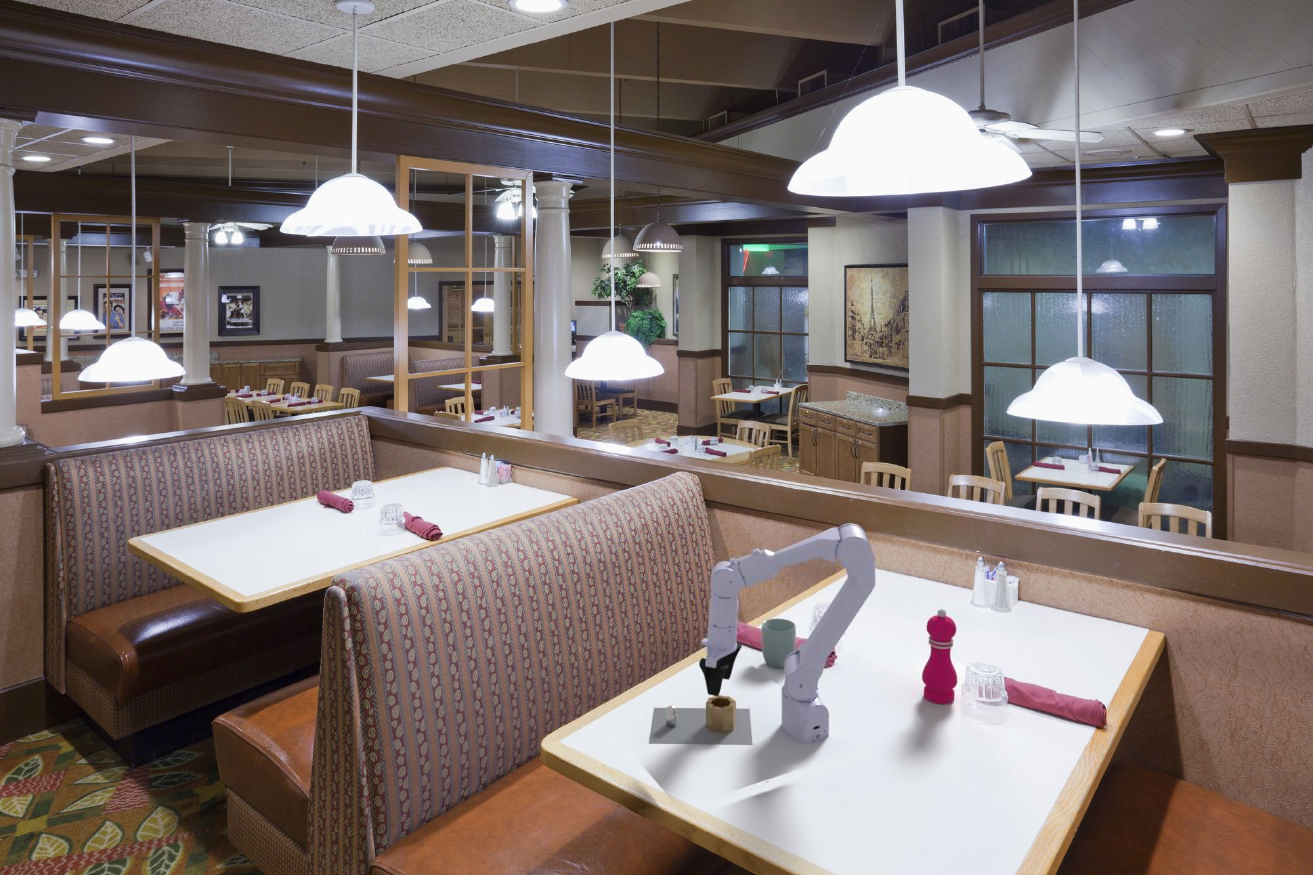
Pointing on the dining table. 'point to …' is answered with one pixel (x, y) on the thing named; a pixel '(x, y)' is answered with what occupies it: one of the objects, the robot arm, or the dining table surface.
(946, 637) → the pepper mill
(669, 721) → the steel pin
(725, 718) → the bronze ring
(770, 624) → the cup
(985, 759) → the dining table surface
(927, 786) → the dining table surface
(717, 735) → the slate block
